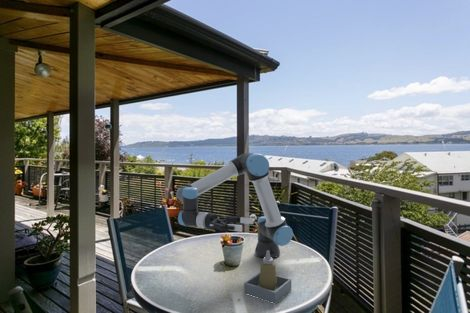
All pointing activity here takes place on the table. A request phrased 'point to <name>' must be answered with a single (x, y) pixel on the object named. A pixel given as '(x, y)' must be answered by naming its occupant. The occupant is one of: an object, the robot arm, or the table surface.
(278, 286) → the bin
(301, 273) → the table surface
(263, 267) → the squeeze bottle
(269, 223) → the robot arm
